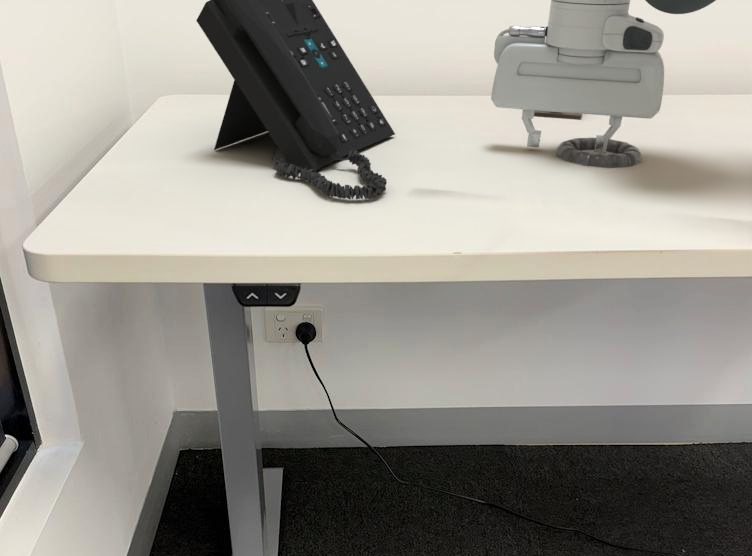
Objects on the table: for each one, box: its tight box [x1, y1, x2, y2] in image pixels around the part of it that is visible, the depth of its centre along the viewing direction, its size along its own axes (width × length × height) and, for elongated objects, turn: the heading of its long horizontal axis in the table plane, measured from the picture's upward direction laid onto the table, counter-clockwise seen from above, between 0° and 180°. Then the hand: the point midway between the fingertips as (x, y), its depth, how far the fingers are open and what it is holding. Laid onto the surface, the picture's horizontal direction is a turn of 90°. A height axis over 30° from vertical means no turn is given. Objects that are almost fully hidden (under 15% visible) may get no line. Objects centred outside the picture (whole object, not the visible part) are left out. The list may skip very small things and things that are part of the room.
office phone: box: [195, 0, 396, 200], centre depth 92 cm, size 29×28×20 cm
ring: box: [554, 137, 642, 169], centre depth 95 cm, size 10×10×2 cm
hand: (566, 148), depth 96 cm, fingers open, 7 cm apart
